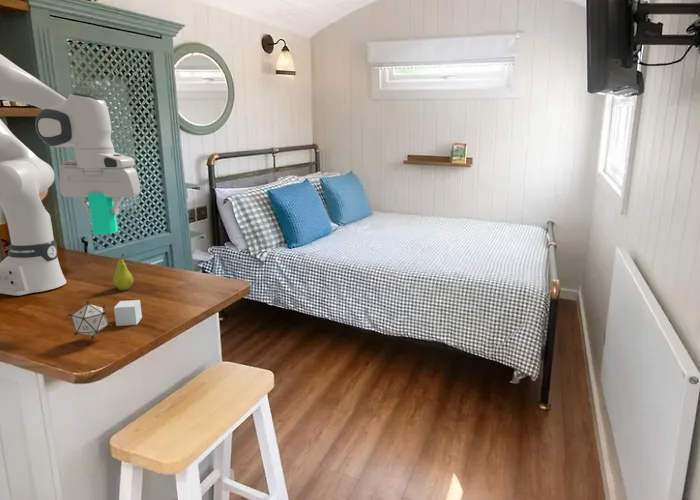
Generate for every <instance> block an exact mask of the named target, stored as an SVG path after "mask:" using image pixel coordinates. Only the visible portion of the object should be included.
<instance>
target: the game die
mask: <svg viewBox="0 0 700 500" xmlns="http://www.w3.org/2000/svg"><path fill="white" fill-rule="evenodd" d="M105 308H106V305H102V306H99V305H94V304H91V303H90V301H89V300H86V304H85V305H83V306H82V307H81V308H80V309H78V310H76V311H75V312H73V313H72V314H71V313H68V314H67V316H68V317H71V320H72V324H73V326H74V330H75V333H74V334H73V337H75V336H77V335H84V336H88V337H91V339H92V340H94V339H95V337H94V336H95V335H99V333H100V331H102V330H104V329H105V328H106V327H108V326H109V327H112V325H113V324H111V323H109V322H108V318H107V315H106V314H107V312H106V311H105Z"/></svg>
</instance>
